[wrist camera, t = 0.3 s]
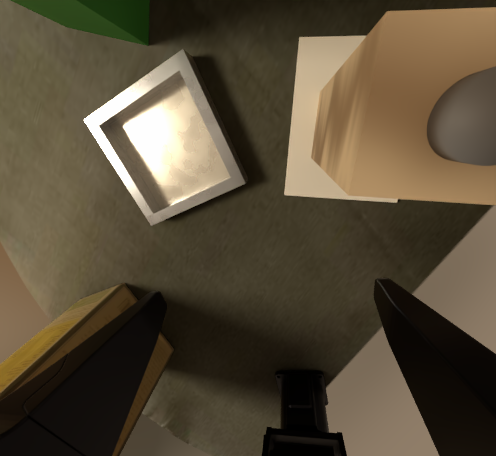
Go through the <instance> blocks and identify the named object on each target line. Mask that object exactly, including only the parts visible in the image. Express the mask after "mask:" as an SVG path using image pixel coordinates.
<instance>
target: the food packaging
mask: <svg viewBox="0 0 496 456" xmlns="http://www.w3.org/2000/svg"><path fill="white" fill-rule="evenodd" d="M137 301H138V300H137V298H136V297H135V296H134V295H133V293H132V292H131V291H130V290H129V288H128V287H127V286H126V284H125V283H121V284H119V285H116V286H113V287H111V288H108V289H106V290H103V291H101V292H98V293H95V294H93V295H90V296H87V297H84V298H81V299H80V300H79V301H78V302H76V303H75V304H74V305H73V306H71V307H70V308H69V309H68V310H66V311H65V312H64V313H63V314H61V315H60V316H59V317H58V318H56V319H55V320H54V321H53V322H51V323H50V324H49V325H48V326H47V327H45V328H44V329H43V330H41V331H40V332H39V333H38V334H36V335H35V336H34V337H33V338H32V339H30V340H29V341H28V342H27V343H26V344H24V345H23V346H22V347H21V348H19V349H18V350H17V351H16V352H15V353H13V354H12V355H11V356H10V357H8V358H7V359H6V360H5V361H4V362H2V363H1V364H0V400H2V399H3V398H5V397H6V396H8V395H9V394H11V393H12V392H14V391H15V390H16V389H18V388H19V387H21V386H22V385H24V384H25V383H27V382H28V381H30V380H31V379H33V378H34V377H35V376H37V375H38V374H40V373H41V372H43V371H44V370H45V369H47V368H48V367H49V366H51V365H52V364H54V363H55V362H56V361H58V360H59V359H60V358H62V357H63V356H64V355H66V354H67V353H69V352H70V351H71V350H73V349H74V348H75V347H77V346H78V345H79V344H81V343H82V342H83V341H85V340H86V339H87V338H89V337H90V336H91V335H93V334H94V333H95V332H97V331H98V330H99V329H101V328H102V327H103V326H105V325H106V324H108V323H109V322H110V321H112V320H113V319H114V318H116V317H117V316H118V315H120V314H121V313H122V312H124V311H125V310H126V309H128V308H129V307H130V306H132V305H133V304H134V303H136V302H137ZM173 352H174V349H173V347H172V346H171V345H170V343H169V342H168V341H167V339H166V338H165V337H164V335H163V334H162V333H161V331H160V334H159V337H158V340H157V343H156V346H155V348H154V351H153V354H152V356H151V359H150V361H149V364H148V366H147V369H146V371H145V374H144V376H143V379H142V382H141V384H140V387H139V389H138V392H137V394H136V397H135V399H134V402H133V404H132V407H131V410H130V412H129V415H128V417H127V420H126V422H125V425H124V427H123V430H122V432H121V435H120V438H119V440H118V443H117V445H116V448H115V450H114V453H113V455H112V456H119V455H120V453H121V451H122V450H123V448H124V446H125V444H126V442H127V440H128V438H129V436H130V434H131V432H132V430H133V429H134V427H135V425H136V423H137V421H138V419H139V417H140V415H141V413H142V411H143V409H144V407H145V406H146V404H147V402H148V400H149V398H150V396H151V394H152V392H153V390H154V388H155V387H156V385H157V383H158V381H159V379H160V377H161V375H162V373H163V372H164V370H165V368H166V366H167V364H168V362H169V360H170V358H171V356H172V354H173Z"/></svg>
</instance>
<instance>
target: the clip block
mask: <svg viewBox="0 0 496 456" xmlns="http://www.w3.org/2000/svg"><path fill="white" fill-rule="evenodd" d="M311 158H312V159H313V160H314V161H315V162H316V163H317V164H318V165H319V166H320V167H321V168H322V169H323V170H324V171H325V173H326V174H327V175H328V176H329V177H330V178H331V179H332V180H333V181H334V182H335V183H336V184H337V185H338V186H339V187H340V188H341V189H342V190H343V191H344V192H345V193H346V194H347V195H348V196H363V197H378V198H393V199H409V200H424V201H439V202H454V203H470V204H485V205H496V7H492V8H464V9H436V10H408V11H387V12H386V13H385V15H384V16H383V17H382V18H381V19H380V21H379V22H378V23H377V24H376V25H375V27H374V28H373V29H372V30H371V31H370V33H369V34H368V35H367V36H366V37H365V39H364V40H363V41H362V42H361V43H360V45H359V46H358V47H357V48H356V49H355V51H354V52H353V53H352V54H351V55H350V57H349V58H348V59H347V60H346V61H345V62H344V64H343V65H342V66H341V67H340V68H339V70H338V71H337V72H336V73H335V74H334V76H333V77H332V78H331V79H330V80H329V82H328V83H327V84H326V85H325V86H324V88H323V89H322V90H321V91H320V94H319V102H318V109H317V117H316V124H315V131H314V139H313V146H312V154H311Z"/></svg>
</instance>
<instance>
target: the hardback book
mask: <svg viewBox="0 0 496 456" xmlns="http://www.w3.org/2000/svg"><path fill="white" fill-rule="evenodd" d="M11 1H13V2H15V3H17V4H19V5H22V6H24V7H26V8H28V9H30V10H32V11H34V12H36V13H38V14H40V15H42V16H44V17H47V18H49V19H51V20H53V21H55V22H57V23H59V24H61V25H63V26H65V27H68V28H73V29H77V30H82V31H86V32H90V33H95V34H99V35H103V36H108V37H112V38H117V39H121V40H125V41H130V42H134V43H139V44H143V45H147V46H148V43H149V3H150V0H11Z"/></svg>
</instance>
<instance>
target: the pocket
mask: <svg viewBox="0 0 496 456" xmlns="http://www.w3.org/2000/svg"><path fill="white" fill-rule="evenodd" d="M84 121H85V123H86V124H87V126H88V127H89V129H90V131H91V132H92V134H93V135H94V137H95V138H96V140H97V142H98V143H99V145H100V146H101V148H102V149H103V151H104V153H105V154H106V156H107V157H108V159H109V160H110V162H111V163H112V165H113V167H114V168H115V170H116V171H117V173H118V174H119V176H120V178H121V179H122V181H123V182H124V184H125V185H126V187H127V189H128V190H129V192H130V193H131V195H132V196H133V198H134V200H135V201H136V203H137V204H138V206H139V207H140V209H141V210H142V212H143V214H144V215H145V217H146V218H147V220H148V221H149V223H150V225H151V226H152V225H154V224H156V223H158V222H161V221H163V220H165V219H167V218H170V217H172V216H174V215H176V214H179V213H181V212H183V211H185V210H188V209H190V208H192V207H194V206H197V205H199V204H201V203H203V202H205V201H208V200H210V199H212V198H214V197H217V196H219V195H221V194H223V193H226V192H228V191H230V190H232V189H235V188H237V187H239V186H241V185H244V184H246V182H247V181H248V180H249V179H248V177H247V175H246V173H245V171H244V168H243V166H242V164H241V162H240V160H239V157H238V155H237V153H236V151H235V149H234V147H233V144H232V142H231V140H230V138H229V136H228V133H227V131H226V129H225V127H224V125H223V123H222V120H221V118H220V116H219V114H218V112H217V109H216V107H215V105H214V103H213V101H212V99H211V96H210V94H209V92H208V90H207V88H206V85H205V83H204V81H203V79H202V77H201V74H200V72H199V70H198V68H197V66H196V64H195V61H194V59H193V57H192V56H191V55H190V54H189V53H187V52H186V51H185V50H184V49H182V50H181V51H179V52H178V53H177V54H175V55H174V56H172V57H171V58H170V59H168V60H167V61H165V62H164V63H163V64H161V65H160V66H158V67H157V68H156V69H154V70H153V71H151V72H150V73H149V74H147V75H146V76H144V77H143V78H141V79H140V80H139V81H137V82H136V83H134V84H133V85H132V86H130V87H129V88H127V89H126V90H125V91H123V92H122V93H120V94H119V95H118V96H116V97H115V98H113V99H112V100H111V101H109V102H108V103H106V104H105V105H104V106H102V107H101V108H99V109H98V110H97V111H95V112H94V113H92V114H91V115H90V116H88V117H87V118H85V119H84Z"/></svg>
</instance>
